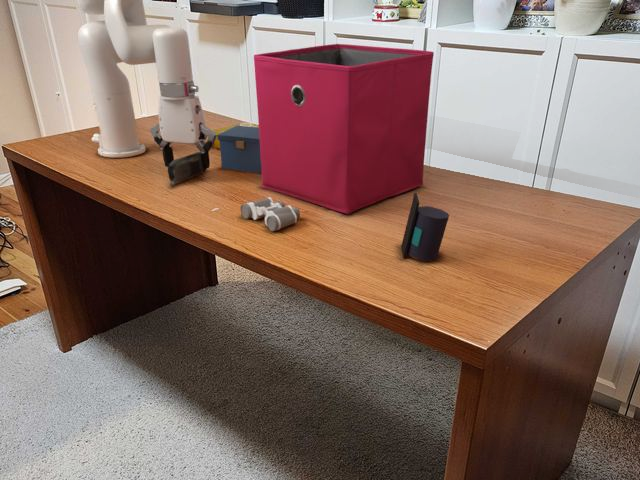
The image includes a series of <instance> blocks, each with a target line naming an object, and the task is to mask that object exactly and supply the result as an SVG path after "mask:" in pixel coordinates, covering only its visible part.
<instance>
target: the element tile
mask: <svg viewBox="0 0 640 480" xmlns="http://www.w3.org/2000/svg"><path fill="white" fill-rule="evenodd" d="M235 126H247V127H258V128H259V124H256V123H252V122H242V123H237V124H234V125H229V126H225V127H220V128H217V129H211V130H212V131H214V132H216V134H217V135H218V134H220V133H222V132H224V131H226V130H229V129H231V128H233V127H235ZM211 148H214V149H218V150H220V140H218V138H217V136H216V139H215V141H214V145H213V146H212V147H211Z"/></svg>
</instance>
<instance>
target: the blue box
mask: <svg viewBox="0 0 640 480" xmlns="http://www.w3.org/2000/svg"><path fill="white" fill-rule="evenodd" d="M217 138H218V140H220V149H219V151H220V162H221V169H222V170H229V171H238V172H239V171H240V172H247V173H255V174H262V168H261V153H260V137H259V128H258V127H247V126H235V127H233V128H231V129H229V130H226V131H224V132H222V133H220V134H218V135H217Z"/></svg>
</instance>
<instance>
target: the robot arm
mask: <svg viewBox="0 0 640 480" xmlns="http://www.w3.org/2000/svg"><path fill="white" fill-rule="evenodd" d="M75 3H76V4H77V6H78V8H79V9H80V11H81V12H83V13H85V14H88V15H95V16H96V15H103V17H104V18H103V19H104V20H95V21H89V22H86V23H84V24H83V25H82V26H81V27H79V29H78V32H77V41H78V45H79V49H80V52H81V55H82V57H83V60H84V63H85V66H86V69H87V73H88V77H89V81H90V86H91V91H92V96H93V101H94V102H93V103H94V106H95V112H96V113H95V114H96V117H97V122H98V128H99V133H94V134H93V135H92V137H91V142H92V143H97V144H99V147H98V148H97V154H98V155H100V156H101V157H104V158H113V159H114V158H116V159H119V158H130V157H136V156H139V155H142V154H143V153H145V152H146V150H147V148H146V145H145V144H143V143H140V140H139V135H138V134H139V133H138V129H137V123H136V116H135V110H134V104H133V98H132V92H131V86H130V82H129V79H128V77H127V75H126V74H125V73H124V71H122V70H121V68H120V67H119V65H118V64H120V63H124V64H126V65H129V66H130V65H131V66H135V65H136V66H137V65H147V64H155V65H156V71H157V79H158V86H159V93H160V96H159V97H158V123H157V124H155V125H154V126H152V127H151V128H149V132H150V134H151V136H152V138H153V140H154V142H155V143H156V144H157V145H158V148H159V149H160V150H161V152H162V159H163V162H164V167H165V168H168V165H169V164H170V163H171V162H172V161H173V160H175V157H174V151H173V147H172V146H171V145H172V144H181V145H182V144H183V145H194V146H195V147H196V148H197V150H198V152H201V153H199V163H200V170H202V171H204V170H206V171H207V169H209V168H210V165H211V162H210V161H211V160H210V152H209V151H211V149H212V148H213V147H212V146H213V145H214V141H215V139H216V136H217V134H216V132H214V131H212V130H213V129H212V128H209V127H208V126H207V125H206V120H205V115H204V111H203V107H202V104H201V101H200V98H199V97H200V96H198V95H196V93H198V92H199V90H200V88H199V86H198V85H195V82H194V76H193V68H192V59H191V50H190V42H189V34H188V32H187V30H185V29H184V28H182V27H171V26H169V25H166V24H148V23H147V17H146V13H145V6H144V2H143V0H75ZM206 140H207V141H206Z"/></svg>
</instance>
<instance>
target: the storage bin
mask: <svg viewBox="0 0 640 480" xmlns="http://www.w3.org/2000/svg"><path fill="white" fill-rule="evenodd" d="M434 56H435V53H434V51H431V50H430V51H429V50H422V49H421V50H420V49H413V48H411V49H410V48H397V47H396V48H395V47H386V46H385V47H384V46H383V47H382V46H371V45H361V44H360V45H358V44H347V43H345V44H344V43H332V44H324V45H323V44H322V45H315V46H307V47H300V48H293V49H286V50H279V51H272V52H263V53H257V54H253V62H254V63H253V64H254V66H253V67H254V80H255V92H256V94H255V95H256V106H257V119H258V121H257V122H258V125H259V137H260V153H261V168H262V173H261V188H262V189H264V190H265V189H266V190H271V191H275V192H278V193H281V194H284V195H287V196H290V197H293V198H297V199H300V200H302V201H306V202H309V203H313V204H315V205H319V206H321V207H323V208H326V209H330V210H333V211H336V212H339V213H342V214H345V215H349V214H351V213H354V212H356V211H358V210H360V209H362V208H366V207H368V206H371V205H373V204H376V203H377V202H381V201H383V200H385V199H388V198H391V197H393V196H397V195H400V194H402V193H405V192H408V191H410V190H412V189H415V188H418V187H421V186H423V185H424V166H425V155H426V152H425V151H426V141H427V130H428V129H427V128H428V117H429V105H430V94H431V82H432V73H433V62H434Z"/></svg>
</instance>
